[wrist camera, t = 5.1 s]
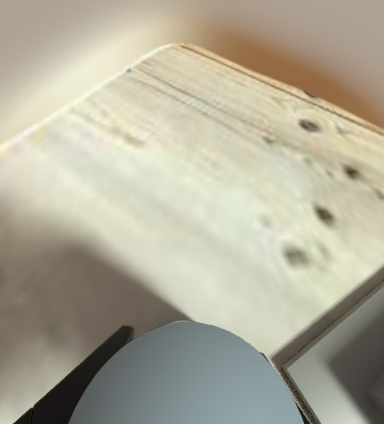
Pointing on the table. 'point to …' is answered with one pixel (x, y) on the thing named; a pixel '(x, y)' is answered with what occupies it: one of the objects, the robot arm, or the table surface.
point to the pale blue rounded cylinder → (187, 382)
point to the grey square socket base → (345, 366)
